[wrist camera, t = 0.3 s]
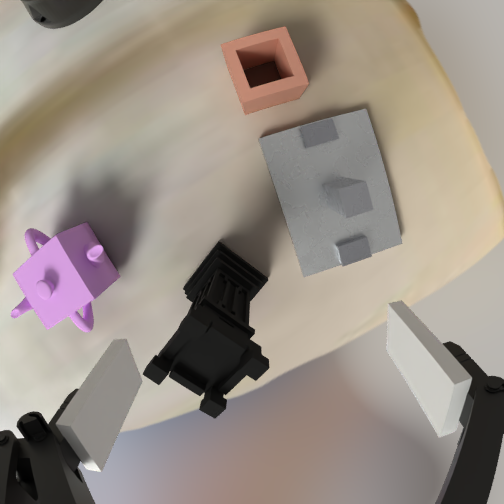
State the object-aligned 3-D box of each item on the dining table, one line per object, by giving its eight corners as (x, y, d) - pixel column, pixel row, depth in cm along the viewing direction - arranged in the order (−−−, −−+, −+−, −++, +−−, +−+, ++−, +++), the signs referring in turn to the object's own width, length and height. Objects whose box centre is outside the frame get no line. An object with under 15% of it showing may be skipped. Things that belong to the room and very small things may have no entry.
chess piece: (231, 320, 44) (216, 422, 25) (184, 286, 43) (136, 374, 24) (267, 278, 43) (276, 367, 23) (218, 241, 41) (188, 307, 22)
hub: (227, 66, 35) (220, 44, 28) (280, 50, 35) (285, 26, 27) (245, 114, 37) (242, 102, 29) (299, 98, 37) (309, 83, 29)
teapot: (56, 200, 40) (9, 212, 30) (134, 228, 41) (98, 249, 31) (44, 292, 44) (5, 320, 33) (114, 323, 45) (84, 362, 34)
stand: (258, 139, 38) (259, 131, 29) (362, 110, 37) (390, 96, 28) (302, 273, 42) (314, 302, 33) (397, 240, 41) (430, 260, 32)
